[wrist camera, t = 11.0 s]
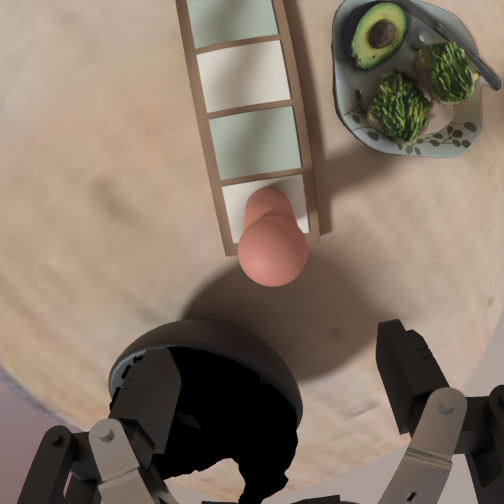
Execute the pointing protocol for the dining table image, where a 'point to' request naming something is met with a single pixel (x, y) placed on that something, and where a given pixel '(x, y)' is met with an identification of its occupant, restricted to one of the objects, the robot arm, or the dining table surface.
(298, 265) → the pawn
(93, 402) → the dining table surface
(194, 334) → the coal bowl
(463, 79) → the salad plate
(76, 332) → the dining table surface
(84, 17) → the dining table surface
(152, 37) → the dining table surface
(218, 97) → the board
